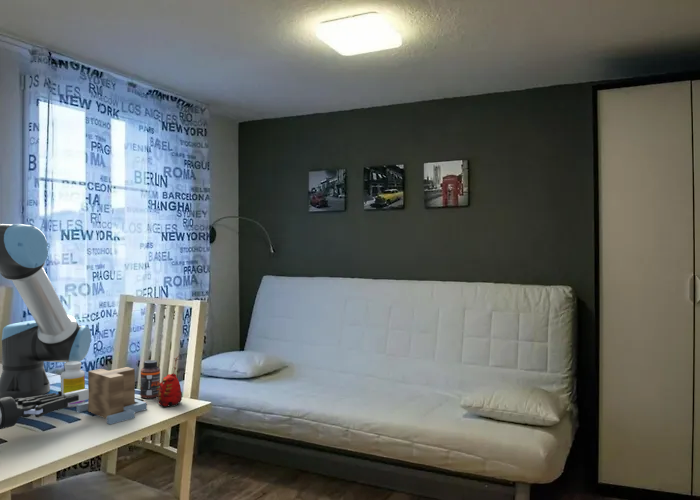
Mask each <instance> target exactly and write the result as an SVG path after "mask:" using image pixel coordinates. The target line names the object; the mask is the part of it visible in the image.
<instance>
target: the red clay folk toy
mask: <svg viewBox="0 0 700 500" xmlns="http://www.w3.org/2000/svg"><path fill="white" fill-rule="evenodd" d="M179 356H180V354H177V356H176V358H173V359H174V362H175V363H174V366H173V373H171V374H170V373H169V374H167V375H166V376H164V377H163V378H162V381H160V388H159V392H158V396H157V399H158V405H160V406H161V407H162V408H167V407H169V406H170V407H175V406H177V405H178V404H180V403H181V402H182V399H183V398H182V397H183V392H182V388H181V384H180V382H179V379H178V377H177V374H176V373H175V372H176V371H175V370H176V369H177V367H176V365H177V362H178V360H180V358H179Z"/></svg>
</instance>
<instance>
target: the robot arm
mask: <svg viewBox="0 0 700 500" xmlns="http://www.w3.org/2000/svg"><path fill="white" fill-rule="evenodd" d="M48 245H49V244H48V239H47V238H46V236H45V234H44V232H42V230H41V229H40V228H38V227H37V226H35V225H31V224H23V223H12V224H9V223H0V275H1V277H2V278H4V279H6V280H8V281H12V284H13V285H14V287H15V289H16V290H17V292H18V294H19V296H20V297H21V299H22V301H23V302H24V304H25V306H26V308H27V309H28V311H29V313H30V315H31V316H32V318H33V320H25V321H21V322H16V323H10V324H7V325H5V326H4V327H3V328H2V334H1V346H2V347H1V352H2V354H1V355H2V357H1V360H2V365H1V366H2V368H1V369H2V370H1V371H2V372H1V374H0V430H3V429H7V428H11V427H14V426H16V424H17V422H18V420H19V418H22V419H26V418H29V417H31V416H34V415H35V416H34V417H35V418H41V417H42V416H44V415H47V414H49V413H53V412H56V411H59V410H62V409H67V408H69V407H68V404H70V403H74V402H79V401H83V400H85V401H87V400H88V399H89V389H88V388H85V389H82V390H77V391H73V392H68V393H64V394H63V395H62V391H61V390H59V391H57V392H58V393H56V392H51V393H49V392H50V389H51V388H50V387H51V384H50V381H49V378H48V375H47V373H46V370H45V368H44V367H45V363H44V362H47V363H48V362H51V363H66V362H71V361H79V362H81V361H83V360H84V359H85V358H86V356H87V355H88V353H89V350H90V346H91V342H92V331H91V329H90V327H89V326H87V325H84V324H82V325H79V324H78V322H77V320H76V318H75V317H74V316H72V315H70V314H68V313H67V311H66V309H65V308H64V305H63V303H62V301H61V300H60V298H59V296H58V294H57V292H56V290H55V288H54V286H53V283H52V282H51V280H50V278H49V277H48V275H47V273H46V271H45V269H44V267H45V264H46V261H47V259H48V257H49V256H48V255H49V248H48Z"/></svg>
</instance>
